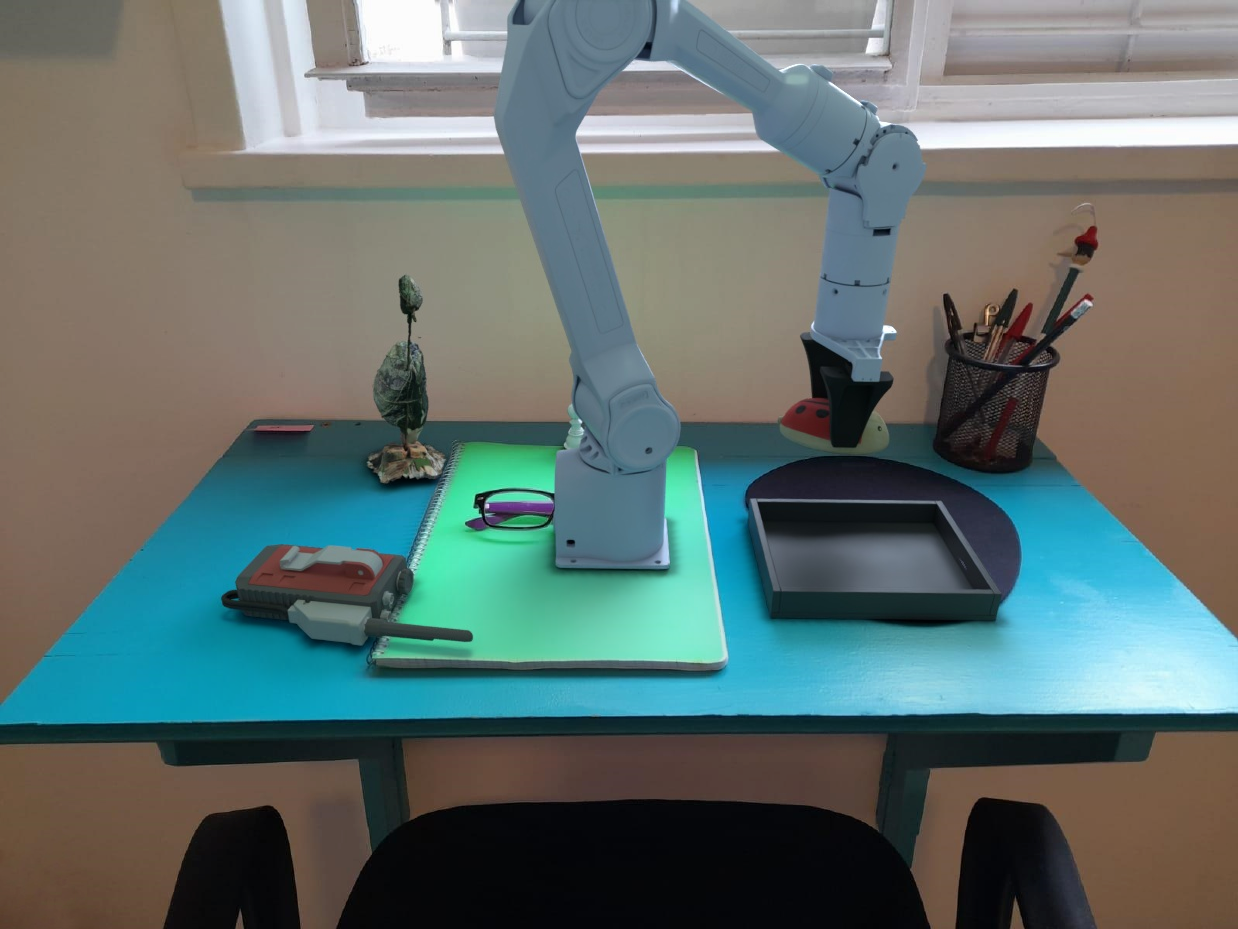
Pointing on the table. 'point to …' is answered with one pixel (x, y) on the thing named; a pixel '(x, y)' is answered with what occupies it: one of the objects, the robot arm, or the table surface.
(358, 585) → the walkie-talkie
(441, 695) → the table surface
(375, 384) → the plant with pod
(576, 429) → the chess pawn
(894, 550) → the tray
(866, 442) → the ladybug figurine
